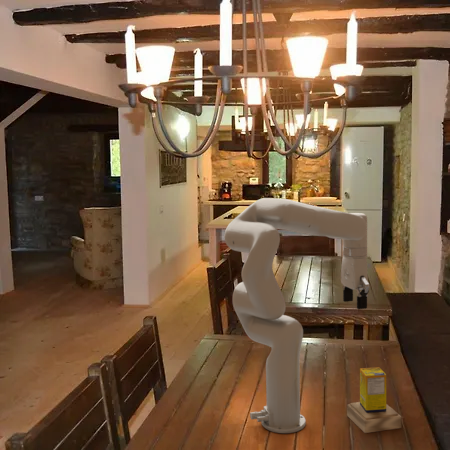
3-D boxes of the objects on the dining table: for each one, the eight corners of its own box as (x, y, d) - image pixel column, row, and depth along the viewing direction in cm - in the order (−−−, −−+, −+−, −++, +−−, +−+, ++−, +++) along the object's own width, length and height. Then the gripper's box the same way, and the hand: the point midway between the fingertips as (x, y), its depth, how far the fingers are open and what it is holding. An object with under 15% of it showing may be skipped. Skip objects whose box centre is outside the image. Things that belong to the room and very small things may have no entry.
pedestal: (364, 433, 153) (364, 419, 153) (347, 415, 164) (347, 402, 164) (401, 427, 156) (401, 414, 155) (381, 411, 167) (381, 398, 166)
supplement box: (379, 402, 163) (379, 366, 162) (386, 411, 157) (387, 374, 156) (359, 404, 162) (359, 367, 161) (366, 413, 157) (366, 375, 155)
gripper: (332, 248, 185) (332, 299, 187) (356, 257, 168) (356, 312, 170) (353, 247, 186) (353, 297, 188) (379, 255, 170) (378, 310, 172)
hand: (354, 304), depth 179 cm, fingers open, 9 cm apart
